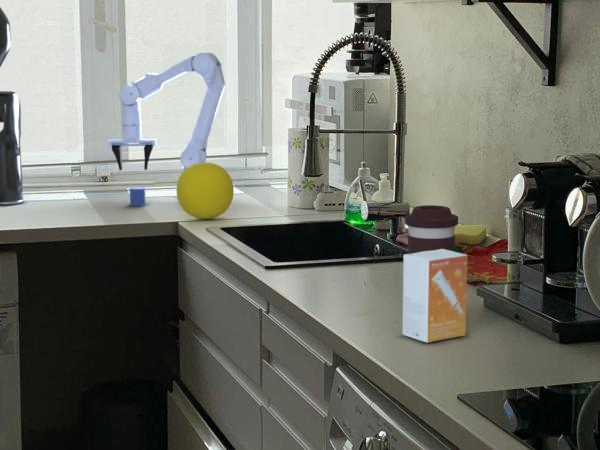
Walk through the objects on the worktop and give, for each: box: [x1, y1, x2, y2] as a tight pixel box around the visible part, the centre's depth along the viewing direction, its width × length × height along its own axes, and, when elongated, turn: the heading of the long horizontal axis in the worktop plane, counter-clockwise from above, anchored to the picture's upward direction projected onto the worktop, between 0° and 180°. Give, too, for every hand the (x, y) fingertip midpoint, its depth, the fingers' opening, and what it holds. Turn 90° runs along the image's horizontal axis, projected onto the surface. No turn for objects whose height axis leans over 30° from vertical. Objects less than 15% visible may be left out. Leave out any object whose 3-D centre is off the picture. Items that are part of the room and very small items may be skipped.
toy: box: [176, 161, 235, 220], centre depth 278 cm, size 15×15×15 cm
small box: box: [402, 249, 469, 344], centre depth 163 cm, size 8×6×13 cm
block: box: [129, 186, 147, 207], centre depth 306 cm, size 4×4×5 cm
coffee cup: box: [404, 204, 459, 254], centre depth 197 cm, size 10×10×15 cm
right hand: (133, 169), depth 321 cm, fingers open, 7 cm apart
